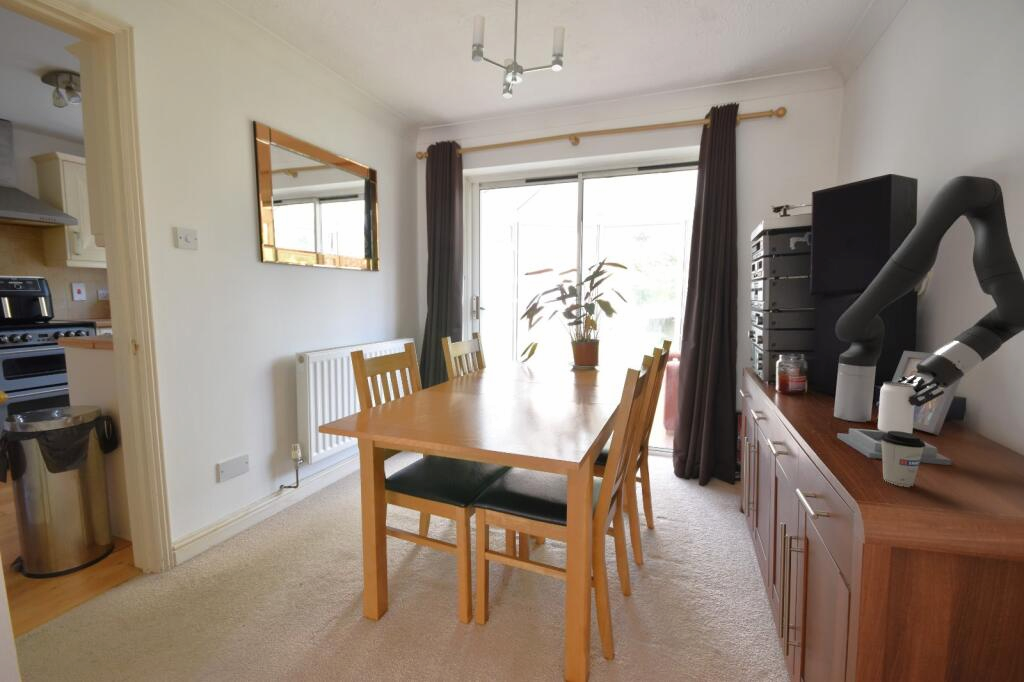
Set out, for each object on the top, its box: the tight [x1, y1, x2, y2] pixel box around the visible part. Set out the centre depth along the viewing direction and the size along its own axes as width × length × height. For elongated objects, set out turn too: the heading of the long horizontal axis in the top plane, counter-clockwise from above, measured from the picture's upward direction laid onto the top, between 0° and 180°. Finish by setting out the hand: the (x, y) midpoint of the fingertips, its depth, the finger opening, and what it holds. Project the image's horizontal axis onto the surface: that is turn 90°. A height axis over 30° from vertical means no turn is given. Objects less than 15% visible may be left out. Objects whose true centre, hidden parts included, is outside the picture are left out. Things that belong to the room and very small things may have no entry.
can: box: [877, 381, 916, 434], centre depth 109 cm, size 6×6×12 cm
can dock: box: [836, 427, 952, 466], centre depth 111 cm, size 16×16×3 cm
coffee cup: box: [880, 431, 926, 488], centre depth 91 cm, size 7×7×10 cm
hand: (885, 409), depth 111 cm, fingers closed on can, 4 cm apart
